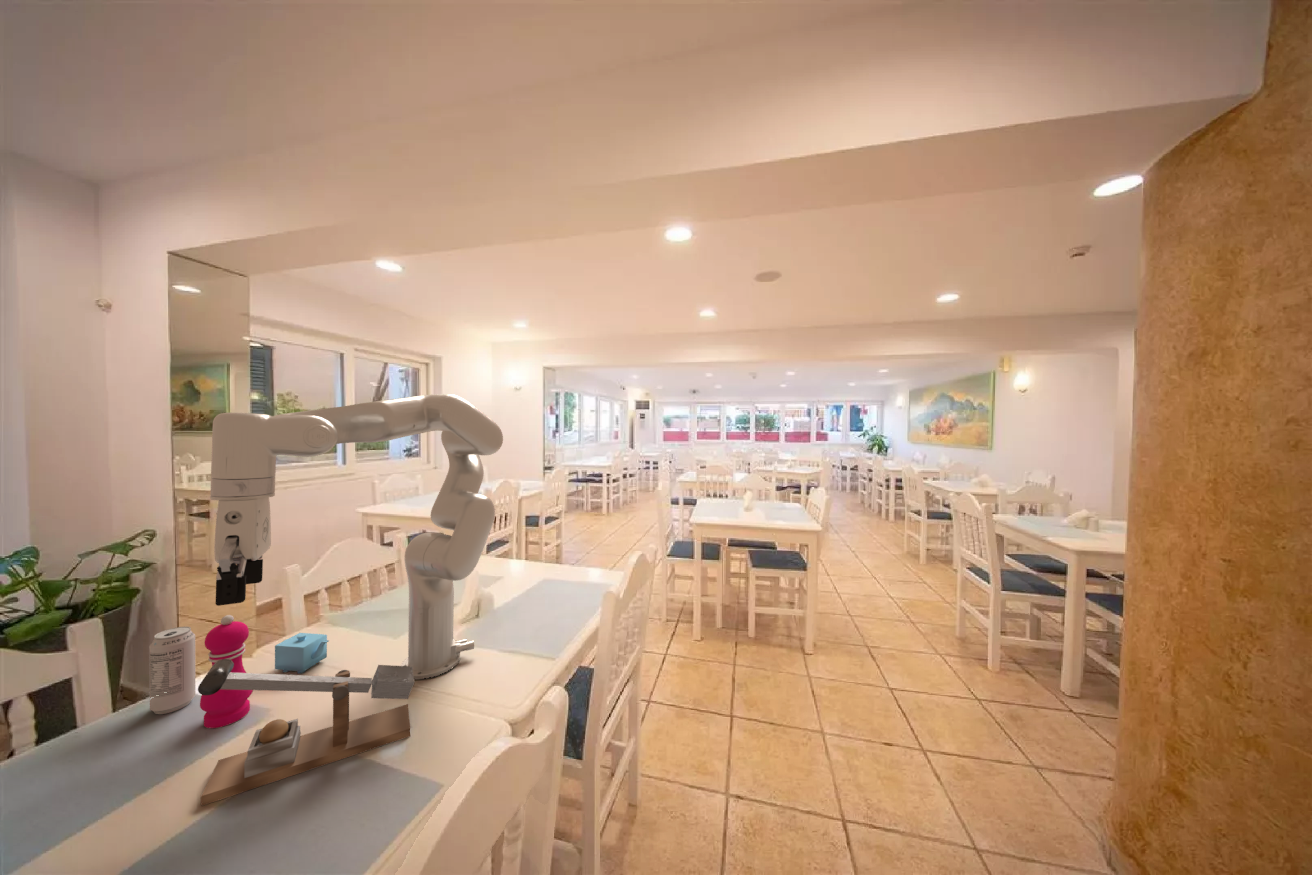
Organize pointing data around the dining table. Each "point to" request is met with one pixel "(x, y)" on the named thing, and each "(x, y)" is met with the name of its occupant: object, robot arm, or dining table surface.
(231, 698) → the pepper mill
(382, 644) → the dining table surface
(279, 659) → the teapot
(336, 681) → the lever
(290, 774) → the stand
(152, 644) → the energy drink can
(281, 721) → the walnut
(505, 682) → the dining table surface
